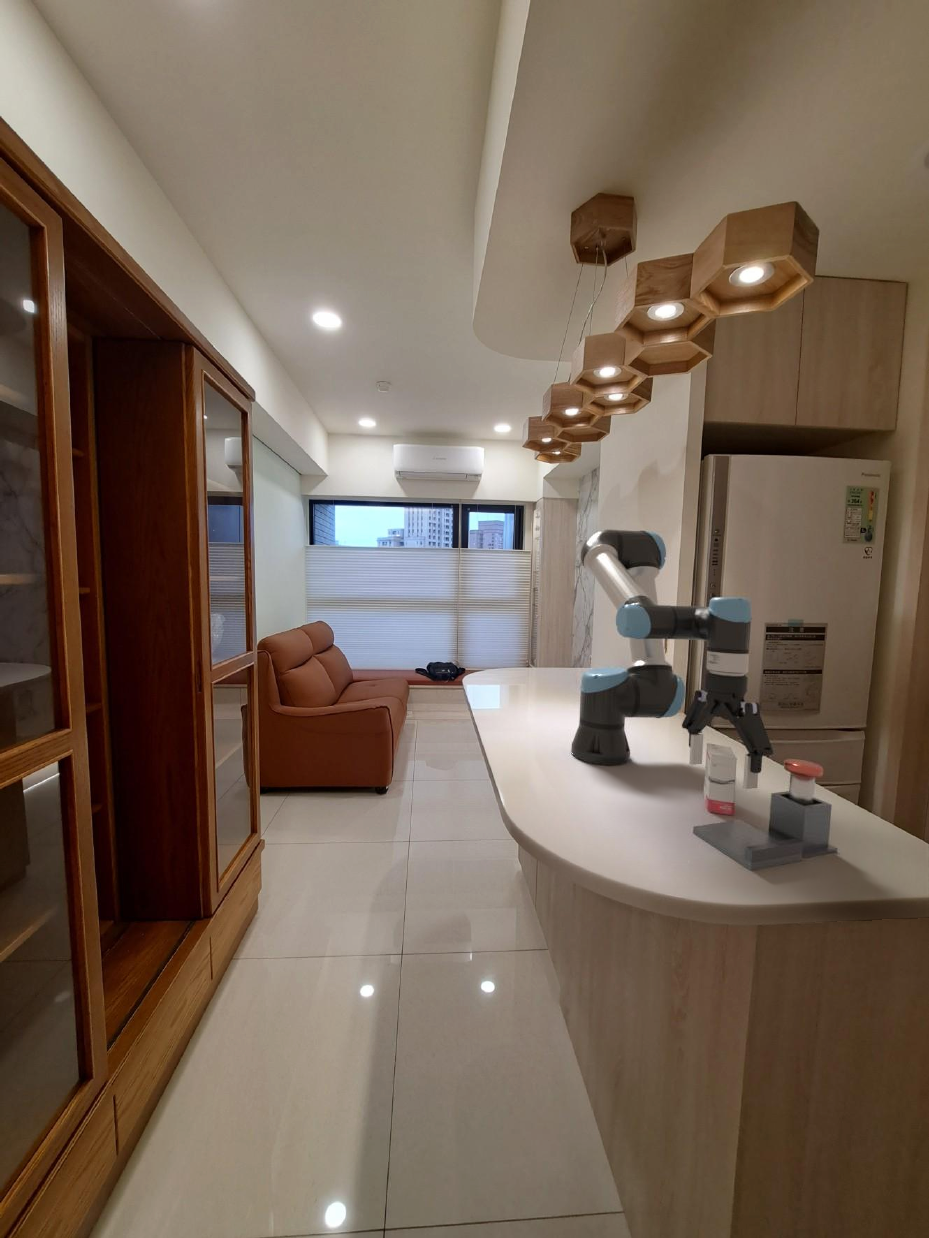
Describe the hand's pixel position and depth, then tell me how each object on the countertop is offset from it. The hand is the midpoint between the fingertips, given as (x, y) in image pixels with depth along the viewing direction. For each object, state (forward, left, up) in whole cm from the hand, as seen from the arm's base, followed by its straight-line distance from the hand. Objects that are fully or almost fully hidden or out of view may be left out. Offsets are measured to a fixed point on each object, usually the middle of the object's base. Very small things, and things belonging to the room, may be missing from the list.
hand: (721, 775), depth 97 cm
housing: (+15, +2, -7) cm, 17 cm away
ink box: (0, 0, -7) cm, 7 cm away
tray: (+14, -8, -7) cm, 17 cm away
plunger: (+15, +2, -2) cm, 15 cm away
